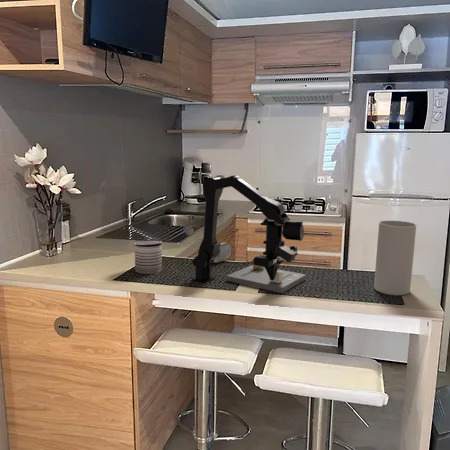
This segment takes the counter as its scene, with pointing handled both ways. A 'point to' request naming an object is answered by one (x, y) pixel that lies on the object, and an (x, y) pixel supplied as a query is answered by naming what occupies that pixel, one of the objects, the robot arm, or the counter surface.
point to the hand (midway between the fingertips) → (272, 280)
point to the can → (148, 257)
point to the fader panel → (265, 279)
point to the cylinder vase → (394, 257)
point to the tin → (224, 252)
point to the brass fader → (258, 267)
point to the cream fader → (278, 277)
